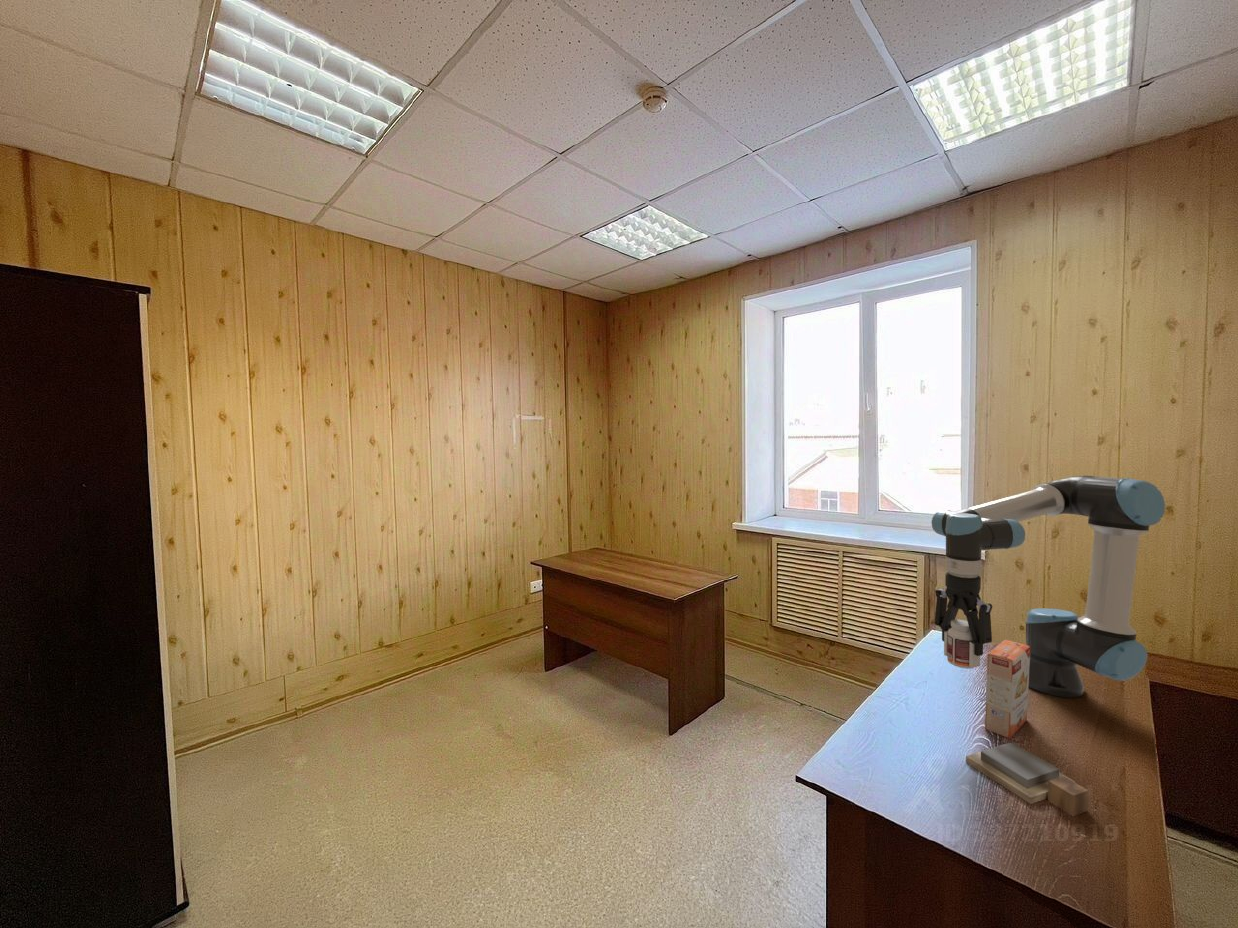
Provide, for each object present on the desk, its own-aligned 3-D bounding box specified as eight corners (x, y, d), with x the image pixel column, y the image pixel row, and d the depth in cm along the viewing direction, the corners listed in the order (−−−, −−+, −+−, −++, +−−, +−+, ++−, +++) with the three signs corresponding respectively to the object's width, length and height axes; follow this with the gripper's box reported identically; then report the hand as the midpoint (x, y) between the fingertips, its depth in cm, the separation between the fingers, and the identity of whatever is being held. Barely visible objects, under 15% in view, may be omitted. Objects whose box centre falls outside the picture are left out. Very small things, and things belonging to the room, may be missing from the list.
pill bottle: (981, 666, 126) (982, 624, 126) (966, 671, 124) (967, 629, 123) (956, 656, 132) (956, 616, 131) (941, 661, 129) (942, 620, 129)
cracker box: (1012, 740, 123) (1014, 660, 122) (983, 729, 128) (985, 652, 127) (1029, 720, 132) (1031, 645, 130) (1002, 710, 136) (1004, 637, 135)
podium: (1007, 749, 120) (1008, 735, 120) (1075, 788, 107) (1076, 772, 107) (965, 761, 116) (966, 747, 116) (1030, 804, 103) (1031, 788, 103)
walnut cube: (1063, 775, 105) (1088, 790, 100) (1062, 795, 105) (1087, 810, 101) (1048, 780, 103) (1073, 795, 99) (1047, 800, 104) (1072, 816, 99)
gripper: (918, 565, 134) (918, 647, 136) (990, 586, 116) (988, 680, 118) (939, 562, 136) (938, 643, 138) (1012, 582, 118) (1010, 674, 120)
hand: (961, 660), depth 128 cm, fingers closed on pill bottle, 6 cm apart
